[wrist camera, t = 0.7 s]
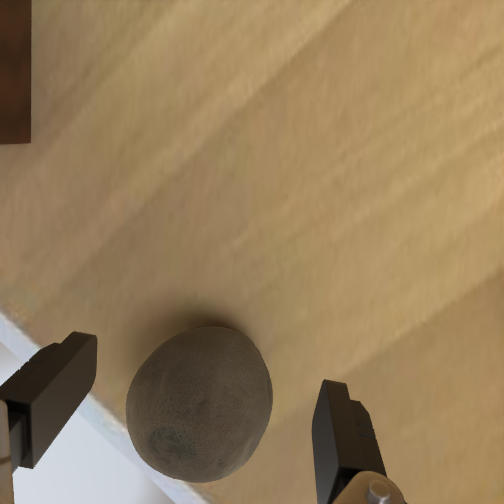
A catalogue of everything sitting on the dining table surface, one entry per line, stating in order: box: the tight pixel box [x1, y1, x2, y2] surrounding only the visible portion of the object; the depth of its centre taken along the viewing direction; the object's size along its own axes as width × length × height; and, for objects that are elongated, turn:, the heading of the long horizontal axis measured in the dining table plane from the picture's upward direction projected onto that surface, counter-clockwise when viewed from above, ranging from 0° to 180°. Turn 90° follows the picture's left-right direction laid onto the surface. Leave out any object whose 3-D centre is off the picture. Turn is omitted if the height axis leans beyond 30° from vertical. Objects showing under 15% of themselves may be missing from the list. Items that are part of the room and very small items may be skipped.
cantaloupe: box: [126, 326, 273, 483], centre depth 40 cm, size 14×14×15 cm
